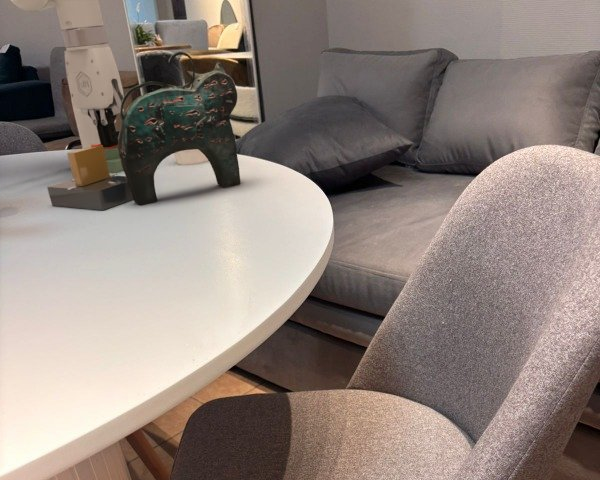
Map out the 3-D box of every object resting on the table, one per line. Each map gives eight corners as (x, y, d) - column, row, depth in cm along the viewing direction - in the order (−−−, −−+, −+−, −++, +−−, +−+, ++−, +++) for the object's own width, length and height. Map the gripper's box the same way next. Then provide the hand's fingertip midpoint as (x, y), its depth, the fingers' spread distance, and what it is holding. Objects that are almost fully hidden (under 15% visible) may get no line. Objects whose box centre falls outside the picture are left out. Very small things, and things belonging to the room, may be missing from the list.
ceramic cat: (239, 178, 110) (222, 46, 99) (255, 184, 105) (238, 45, 94) (126, 201, 102) (95, 60, 92) (138, 209, 97) (106, 61, 87)
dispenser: (82, 171, 128) (76, 150, 125) (111, 162, 133) (106, 142, 131) (117, 173, 123) (112, 151, 121) (146, 164, 128) (142, 143, 126)
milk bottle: (125, 154, 141) (103, 51, 130) (91, 161, 137) (66, 56, 127) (113, 150, 146) (91, 52, 136) (80, 157, 143) (55, 56, 133)
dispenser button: (98, 157, 126) (96, 147, 125) (111, 153, 129) (109, 144, 128) (111, 157, 125) (108, 148, 124) (124, 153, 127) (122, 144, 126)
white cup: (169, 161, 129) (159, 107, 124) (206, 155, 131) (198, 102, 126) (178, 167, 122) (168, 111, 117) (217, 161, 125) (209, 105, 120)
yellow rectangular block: (82, 186, 100) (73, 151, 98) (75, 185, 101) (66, 151, 98) (110, 177, 105) (102, 143, 102) (103, 177, 105) (95, 143, 103)
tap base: (49, 206, 104) (43, 186, 102) (96, 191, 111) (91, 172, 109) (100, 211, 98) (94, 190, 96) (146, 194, 105) (142, 175, 103)
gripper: (42, 44, 117) (70, 149, 127) (98, 38, 110) (123, 150, 120) (74, 40, 123) (98, 141, 132) (129, 35, 115) (151, 142, 125)
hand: (110, 145), depth 126 cm, fingers closed
